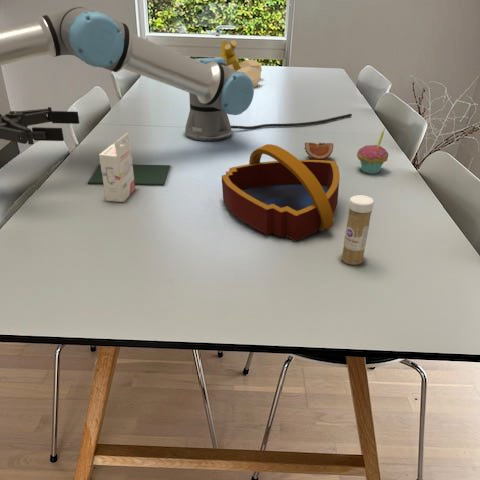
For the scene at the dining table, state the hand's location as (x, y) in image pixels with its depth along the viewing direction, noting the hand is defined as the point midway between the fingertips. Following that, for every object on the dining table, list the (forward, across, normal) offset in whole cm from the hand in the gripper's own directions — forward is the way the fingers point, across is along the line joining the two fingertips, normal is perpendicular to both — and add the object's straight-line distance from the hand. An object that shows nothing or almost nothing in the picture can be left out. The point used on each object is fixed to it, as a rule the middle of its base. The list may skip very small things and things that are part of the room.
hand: (70, 125), depth 126 cm
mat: (+10, -14, -17) cm, 24 cm away
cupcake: (+77, -21, -17) cm, 81 cm away
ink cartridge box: (+10, 0, -17) cm, 20 cm away
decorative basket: (+51, +6, -17) cm, 54 cm away
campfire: (+31, -129, -17) cm, 134 cm away
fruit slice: (+63, -30, -17) cm, 72 cm away
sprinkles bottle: (+64, +31, -17) cm, 73 cm away
